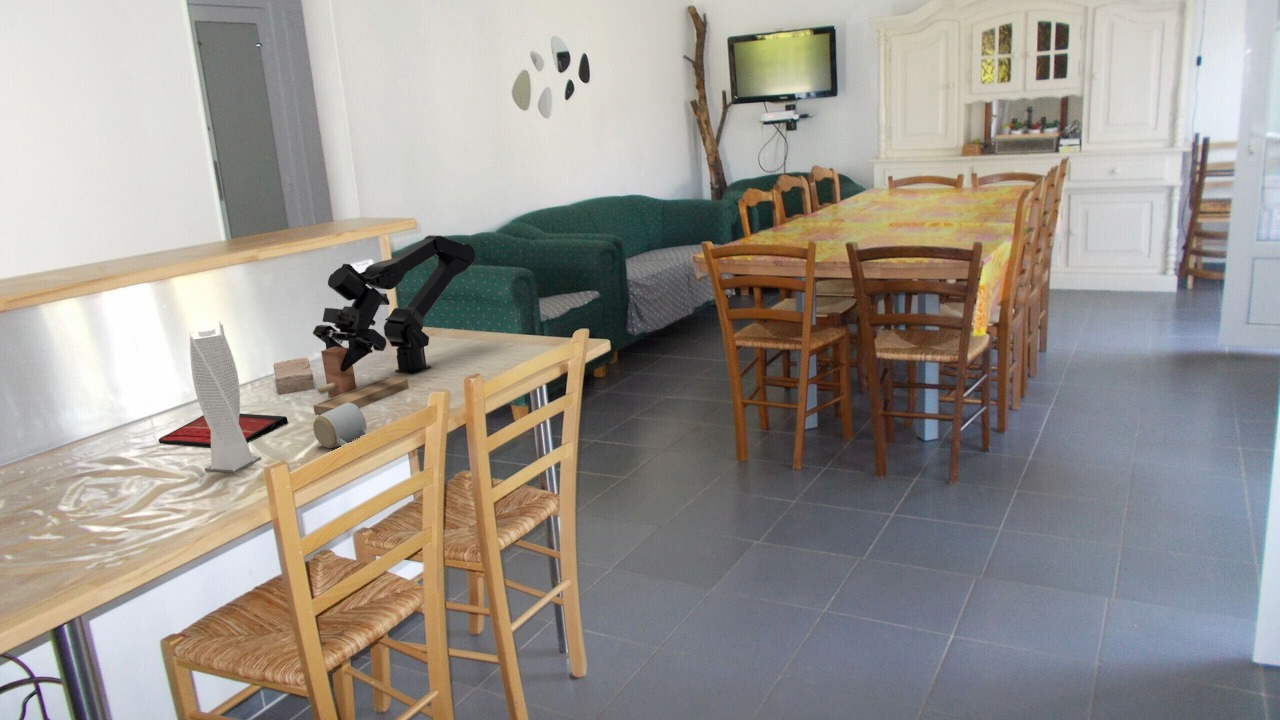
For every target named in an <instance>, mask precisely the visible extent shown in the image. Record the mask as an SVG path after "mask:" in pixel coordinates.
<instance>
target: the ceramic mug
mask: <svg viewBox="0 0 1280 720" xmlns="http://www.w3.org/2000/svg"><path fill="white" fill-rule="evenodd" d="M312 428H313V433H314V436H315V438H316V440H317V442H318V443H319V444H320V445H321V446H323V447H324V448H326V449H333V448H334V449H335V448H337V447H342V445H344V444H346V443H347V442H348V443H351V442H353V441H352V440H354V439H356V438H359V437H360V436H362V435H365V434H368V432H367V422H366V417H365V416H364V413H363V412H362V410H361V409H360V407H359V408H358V407H357V406H356V405H355V404H353V403H345V404H343V405H341V406H339V407H336V408H334V409H332V410H330V411H327V412H325V413H323V414H321V415H318V416H317V417H316V418H315V419H314V421H313V427H312ZM359 439H360V438H359ZM356 440H357V439H356ZM350 441H351V442H350ZM354 441H355V440H354Z"/></svg>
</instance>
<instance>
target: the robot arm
mask: <svg viewBox="0 0 1280 720" xmlns="http://www.w3.org/2000/svg"><path fill="white" fill-rule="evenodd" d="M433 256H436V257H437V266H436V268H435V269H434V270H433V272H432V273H431V274H430V275H429V277H428V279H427V280H426V281H425V282H424V284H423V285H422V286H421V288H420V289H419V290H418V291H417V293H416V295H415V296H414V297H413V298H412V299H411V301H410V302H409V304H408V305H407V306H406V307H404V308H402V307H401V308H399V307H394V309H393V310H392V311H391V313H390V314H389V315H388V316H387V317H386V318H385V323H384V325H383V333H384V336H383V335H382V334H381V333H379V332H378V331H377V330H376V329H374V328H370V326H373V327H374V326H375V325H376V323H377V321H375V320H374V318H375V316H376V314H377V312H378V310H379V308H380V307H381V306H389V305H390V304H391V303H390V300H389V298H388V294H387V293H381V292H380V291H379V290H386V291H388V290H392V289H394V288H396V287H397V286H398V285H399V284H400V283H401V282H402V281H403V279H404V277H405V275H406V274H407V273H409V271H411V270H413V269H414V268H416V267H417V266H419V265H421V264H422V263H424V262H425V261H427V260H429V259H430V258H432V257H433ZM475 260H476V253H475V250H474V247H473V246H472V245H471V244H469V243H461V242H458V241H456V240H455V241H454V240H451V239H448V238H446V237H444V236H442V235H433V234H432V235H430V234H429V235H426V236H425V237H424V239H422V240H421V241H419V242H417V243H415V244H414V245H412V246H411V247H409V248H407V249H405V250H404V251H402V252H401V253H399V254H398V255H396V256H394V257H392V258H389V259H386V260H382V261H378V262H375V263H372V264H370V265H368V266H367V267H366V268H365V269H364V271H361V272H358V271H357V270H356V269H355V268H354V266H353V265H352V264H350V263H342V265H341V266H340V267H339V268H337V269H336V270H335V271H333V273H331V274H330V276H329V277H328V278H327V279H328V280H327V285H328V287H329V288H331V290H333V291H334V292H336V293H337V294H338V295H340V296H341V297H342V298H343V299H345V300H346V301H349V302H350V301H353V302H352V304H351V306H347V305H344V306H343V307H342V308H333V307H324V311H323V316H322V322H323V323H330V324H333V326H332V325H328V324H318V325H316V326H314V330H312V331H313V332H312V335H314V336H315V337H317V339H319V340H321V341H322V342H323V343H324V344H325V350H326V349H329V348H332V347H344V345H342V344H343V342H344V341H345V342H348V347H347V348H348V350H347V353H346V355H345V357H344V360H343V362H342V365H341V368H340V370H341V371H343V372H344V371H346V370H347V369H348V368H350V367H351V366H352V365H353V366H354V364H356V363H357V362H359V361H360V360H363V358H365V357H366V356H368V355H369V354H372V353H373V352H374V351H379V352H384V351H385V349H386V347H387V340H388V342H389V344H390V346H391V347H392V348H393V347H394V348H395V347H396V354H397V355H396V361H397V362H396V363H397V367H398V368H397V369H394V373H401V374H411V375H414V374H417V373H420V372H423V371H425V370H428V369H430V368H432V365H431V364H427V361H426V353H425V347H427V346H429V344H430V342H429V341H430V336H428V335H427V334H426V333H425V332H423V331H422V330H423V327H424V318H425V316H426V315H427V314H428V313H429V312H430V310H431V309H432V307H433V306H434V305H435V303H436V302H437V301H438V300H439V298H440V297H441V295H442V293H444V291H446V289H447V287H448V286H449V284H450V283H451V282H452V281H453V279H454V278H455V277H456V276H459V275H460V274H462V273H464V272H466V271H467V270H468V269H469V268H470V267H471V266H472V265H473V264H474V262H475ZM377 289H378V290H377ZM337 329H338V330H339V331H338V330H337ZM372 348H373V349H372Z"/></svg>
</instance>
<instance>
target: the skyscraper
mask: <svg viewBox="0 0 1280 720" xmlns="http://www.w3.org/2000/svg"><path fill="white" fill-rule="evenodd" d="M218 326H219V329H218V330H216V327H208V328H207V327H206V328H202V329H199V330H198V331H197V333H193V332H192V331H190V332H189V334H188V335H189V351H190V352H189V353H190V354H189V355H190V368H191V377H192V381H193V387H194V391H195V396H196V397H197V398H196V399H197V402H198V404H199V406H200V410H201V412H202V416H203V415H204V418H205V420H206V422H207V424H208V426H209V428H210V430H211V447H210V464H211V465H209V466H207V467H206V468H204V471H205V472H216V473H217V472H218V473H228V474H229V473H230V474H235V473H236V474H237V473H238V472H240V471H242V470H244V469H246V468H248V467H249V466H251V465H253V464H254V463H256V462H258V461H259V462H260V461H261V460H262V457H261V456H254V455H253V454H252V452H251V449H250V447H249V445H248V442H246V439H245V437H244V435H243V432H242V430H241V428H240V426H239V413H240V411H241V390H240V389H241V388H240V387H241V386H240V381H239V374H238V370H237V365H236V362H235V358H234V355H233V354H232V350H231V348H230V345H229V342H228V341H227V340H228V339H227V337H226V335H225V331H224V324H223V321H222V320H221V319H220V320H218ZM240 414H241V413H240Z"/></svg>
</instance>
